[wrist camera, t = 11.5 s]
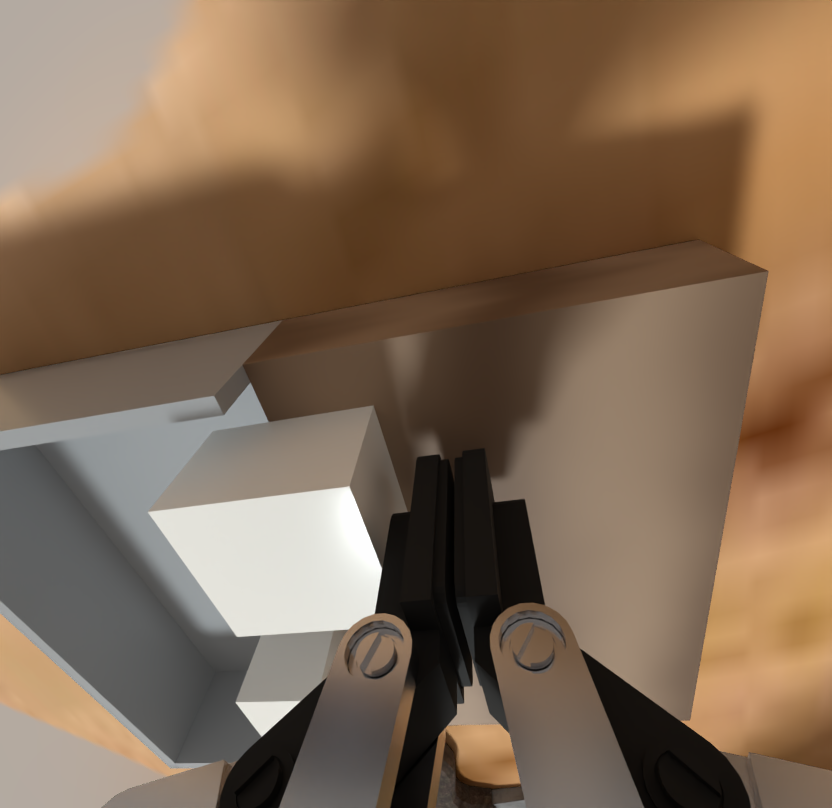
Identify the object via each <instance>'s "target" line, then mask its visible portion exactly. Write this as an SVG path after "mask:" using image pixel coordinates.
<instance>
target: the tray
mask: <svg viewBox="0 0 832 808" xmlns="http://www.w3.org/2000/svg"><path fill="white" fill-rule="evenodd" d="M281 322H282V320H281V321H276V322H271V323H265V324H260V325H255V326H250V327H245V328H240V329H234V330H229V331H224V332H219V333H214V334H209V335H203V336H198V337H193V338H188V339H183V340H178V341H172V342H167V343H162V344H157V345H152V346H147V347H141V348H136V349H131V350H126V351H121V352H116V353H110V354H105V355H100V356H95V357H90V358H85V359H79V360H74V361H69V362H64V363H59V364H54V365H48V366H43V367H38V368H33V369H28V370H23V371H17V372H12V373H7V374H2V375H0V614H2V615H3V616H4V617H5V618H6V619H7V620H8V621H9V622H10V623H11V624H13V625H14V626H15V627H16V628H17V629H18V630H19V631H20V632H21V633H22V634H24V635H25V636H26V637H27V638H28V639H29V640H30V641H31V642H32V643H33V644H35V645H36V646H37V647H38V648H39V649H40V650H41V651H42V652H43V653H44V654H46V655H47V656H48V657H49V658H50V659H51V660H52V661H53V662H54V663H55V664H57V665H58V666H59V667H60V668H61V669H62V670H63V671H64V672H65V673H66V674H68V675H69V676H70V677H71V678H72V679H73V680H74V681H75V682H76V683H77V684H78V685H80V686H81V687H82V688H83V689H84V690H85V691H86V692H87V693H88V694H89V695H91V696H92V697H93V698H94V699H95V700H96V701H97V702H98V703H99V704H100V705H102V706H103V707H104V708H105V709H106V710H107V711H108V712H109V713H110V714H111V715H113V716H114V717H115V718H116V719H117V720H118V721H119V722H120V723H121V724H122V725H124V726H125V727H126V728H127V729H128V730H129V731H130V732H131V733H132V734H133V735H135V736H136V737H137V738H138V739H139V740H140V741H141V742H142V743H143V744H144V745H146V746H147V747H148V748H149V749H150V750H151V751H152V752H153V753H154V754H155V755H157V756H158V757H159V758H160V759H161V760H162V761H163V762H164V763H165V764H166V765H168V766H169V767H170V768H198V767H201V766H204V765H208V764H211V763H214V762H217V761H221V760H224V759H225V760H226V761H227V762H228V764H229V763H232V762H235V761H238V760H239V759H240V757H241V756H242V755H243V754H244V753H245V752H246V751H247V750H248V749H249V748H250V747H251V746H252V745H253V744H254V743H255V742H257V741H258V740H259V739H260V738H261V735H260V734H259V733H258V731H257V730H256V729H255V727H254V726H253V725H252V724H251V722H250V721H249V720H248V718H247V717H246V716H245V714H244V713H243V712H242V710H241V709H240V708H239V706H238V705H237V704H236V699H237V697H238V694H239V692H240V689H241V686H242V684H243V681H244V679H245V676H246V673H247V671H248V668H249V666H250V663H251V660H252V658H253V655H254V653H255V650H256V647H257V645H258V642H259V640H260V637H261V635H259V636H244V637H237V636H236V635H235V633H234V632H233V631H232V629H231V628H230V626H229V625H228V624H227V622H226V621H225V619H224V618H223V617H222V615H221V614H220V612H219V611H218V610H217V608H216V607H215V605H214V604H213V603H212V601H211V600H210V598H209V597H208V596H207V594H206V593H205V591H204V590H203V589H202V587H201V586H200V584H199V583H198V582H197V580H196V579H195V577H194V576H193V575H192V573H191V572H190V571H189V569H188V568H187V566H186V565H185V564H184V562H183V561H182V559H181V558H180V557H179V555H178V554H177V552H176V551H175V550H174V548H173V547H172V545H171V544H170V543H169V541H168V540H167V538H166V537H165V536H164V534H163V533H162V531H161V530H160V529H159V527H158V526H157V524H156V523H155V522H154V520H153V519H152V517H151V516H150V515H149V513H148V511H149V510H150V509H151V507H152V506H153V505H154V504H155V502H156V501H157V500H158V499H159V497H160V496H161V495H162V494H163V492H164V491H165V490H166V489H167V487H168V486H169V485H170V484H171V482H172V481H173V480H174V479H175V478H176V476H177V475H178V474H179V473H180V471H181V470H182V469H183V468H184V466H185V465H186V464H187V463H188V461H189V460H190V459H191V458H192V456H193V455H194V454H195V453H196V451H197V450H198V449H199V448H200V446H201V445H202V444H203V443H204V441H205V440H206V439H207V438H208V437H209V435H210V434H211V433H212V432H213V431H216V430H222V429H228V428H235V427H241V426H247V425H254V424H260V423H266V422H268V420H267V417H266V415H265V413H264V411H263V409H262V407H261V404H260V402H259V400H258V398H257V396H256V393H255V391H254V389H253V387H252V385H251V383H250V380H249V378H248V376H247V374H246V372H245V369H244V367H243V365H242V364H243V363H244V362H245V361H246V360H247V359H248V358H249V357H250V356H251V355H252V353H253V352H254V351H255V350H256V349H257V348H258V347H259V346H260V345H261V344H262V342H263V341H264V340H265V339H266V338H267V337H268V336H269V335H270V334H271V333H272V331H273V330H274V329H275V328H276V327H277V326H278V325H279V324H280V323H281Z"/></svg>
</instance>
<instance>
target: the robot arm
mask: <svg viewBox="0 0 832 808" xmlns="http://www.w3.org/2000/svg"><path fill="white" fill-rule="evenodd" d="M472 660H473V664H474V667H475V671H476V674H477V678H478V681H479V685H480V686H482V688H483V692H484V696H485V699H486V703H487V706H488V710H489V713H490V714H491V715H492V716H493V717H494V718H495V719H496V720H497V721H498V722H499V723H500V724H501V725H502V726H503V727H504V729H505V730H506V731H507V732H508V733H509V734H510V738H511V742H512V747H513V751H514V755H515V760H516V764H517V769H518V773H519V778H520V782H521V787H522V791H523V796H524V800H525V804H526V808H832V771H831V770H826V769H822V768H817V767H813V766H809V765H804V764H800V763H795V762H791V761H786V760H782V759H777V758H773V757H768V756H764V755H759V754H755V753H750V752H749V755H748V757H743V756H739V755H734V754H730V753H726V752H721V751H719V750H718V749H716V748H715V747H714V746H713V745H712V744H711V743H710V742H708V741H707V740H706V739H704V738H703V737H702V736H700V735H699V734H697V733H696V732H695V731H693V730H692V729H691V728H689V727H688V726H686V725H685V724H684V723H682V722H681V721H680V720H678V719H677V718H675V717H674V716H673V715H671V714H670V713H668V712H667V711H666V710H664V709H663V708H662V707H660V706H659V705H657V704H656V703H655V702H653V701H652V700H651V699H649V698H648V697H646V696H645V695H644V694H642V693H641V692H640V691H638V690H637V689H635V688H634V687H633V686H631V685H630V684H629V683H627V682H626V681H624V680H623V679H622V678H620V677H619V676H618V675H616V674H615V673H613V672H612V671H611V670H609V669H608V668H607V667H605V666H604V665H602V664H601V663H600V662H598V661H597V660H596V659H594V658H593V657H591V656H590V655H589V654H587V653H586V652H585V651H583V650H582V649H580V648H579V645H578V643H577V640H576V638H575V635H574V633H573V631H572V629H571V627H570V626H569V624H568V622H567V621H566V619H564V618H563V617H562V616H561V615H560V614H559V613H558V612H557V611H555V610H553V609H551V608H549V607H547V606H546V605H545V602H544V597H543V591H542V586H541V581H540V575H539V570H538V565H537V560H536V554H535V549H534V544H533V539H532V533H531V528H530V523H529V518H528V512H527V507H526V502H525V499H518V500H509V501H501V502H495V500H494V495H493V489H492V484H491V478H490V473H489V467H488V462H487V457H486V451H485V448H480V449H473V450H465V451H462V457H458V458H455V460H454V478H453V474H452V470H451V465H450V461H449V459H443V460H441V457H440V455H439V454H436V455H428V456H421V457H417V460H416V467H415V476H414V484H413V493H412V501H411V510H410V512H403V513H394V514H393V515H392V516H391V520H390V525H389V531H388V537H387V543H386V549H385V555H384V561H383V567H382V573H381V579H380V585H379V591H378V597H377V603H376V609H375V614H373V615H370V616H367V617H365V618H362V619H361V620H359V621H358V622H357V623H355V624H354V625H352V627H351V628H350V629H349V630H348V631H347V632H346V633H345V635H344V636H343V638H342V640H341V642H340V644H339V646H338V649H337V652H336V654H335V657H334V660H333V662H332V665H331V668H330V671H329V673H328V676H327V678H325V679H324V680H323V681H322V682H321V683H320V684H319V685H318V686H317V687H316V688H314V689H313V690H312V691H311V692H310V693H309V694H308V695H307V696H306V697H305V698H304V699H302V700H301V701H300V702H299V703H298V704H297V705H296V706H295V707H294V708H293V709H292V710H290V711H289V712H288V713H287V714H286V715H285V716H284V717H283V718H282V719H281V720H280V721H278V722H277V723H276V724H275V725H274V726H273V727H272V728H271V729H270V730H269V731H267V732H266V733H265V734H264V735H263V736H262V737H261V738H260V739H259V740H258V741H257V742H255V743H254V744H253V745H252V746H251V747H250V748H249V749H248V750H247V751H246V752H245V753H244V754H243V755H242V756H241V757H240V759H239V760H238V761H235V762H232V763H229V764H228V762H227V761H226V760H225V759H224V760H221V761H217V762H214V763H211V764H208V765H204V766H201V767H198V768H195V769H191V770H188V771H185V772H182V773H178V774H175V775H172V776H168V777H165V778H162V779H159V780H155V781H152V782H149V783H146V784H142V785H140V786H136V787H132V788H129V789H127V790H125V791H123V792H121V793H119V794H117V795H116V796H114V797H113V798H112V799H111V800H110V801H108V802H107V803H106V804H105V805H104V806H103V807H102V808H436V802H437V795H438V788H439V781H440V774H441V767H442V760H443V753H444V746H445V739H446V727H447V725H448V724H449V723H450V722H451V721H452V720H453V719H454V717H455V716H456V715H457V704H464V687H470V686H473V665H472Z"/></svg>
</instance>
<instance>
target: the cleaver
mask: <svg viewBox="0 0 832 808" xmlns="http://www.w3.org/2000/svg"><path fill="white" fill-rule="evenodd" d="M455 776H456V766H455V758H454V754H453V752H452V750H451V749H450V748H449V746H448V745H447V744H446V743H445V746H444V753H443V760H442V767H441V774H440V781H439V788H438V795H437V802H436V808H526V804H525V800H524V796H523V791H522V787H511V788H500V789H494V790H491V789H490V788H483V787H475V786H468V785H466V784H464V783H461V782H460V781H459V780H458V779H457V778H456V777H455Z"/></svg>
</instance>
